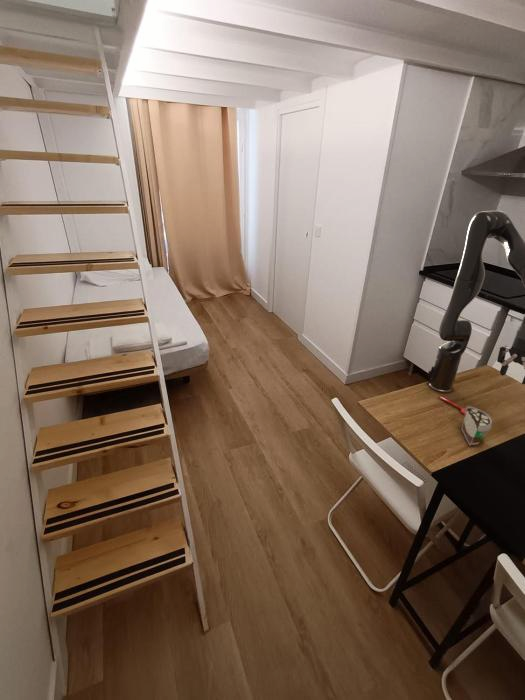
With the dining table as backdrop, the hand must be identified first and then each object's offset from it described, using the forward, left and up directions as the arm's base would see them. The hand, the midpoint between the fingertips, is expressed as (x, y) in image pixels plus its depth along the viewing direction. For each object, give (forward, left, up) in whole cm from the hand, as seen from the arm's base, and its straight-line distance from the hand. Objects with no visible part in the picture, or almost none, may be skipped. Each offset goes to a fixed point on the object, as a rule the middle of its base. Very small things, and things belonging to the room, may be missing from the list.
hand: (513, 379), depth 118 cm
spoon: (-15, -1, -22) cm, 26 cm away
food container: (0, -13, -22) cm, 25 cm away
